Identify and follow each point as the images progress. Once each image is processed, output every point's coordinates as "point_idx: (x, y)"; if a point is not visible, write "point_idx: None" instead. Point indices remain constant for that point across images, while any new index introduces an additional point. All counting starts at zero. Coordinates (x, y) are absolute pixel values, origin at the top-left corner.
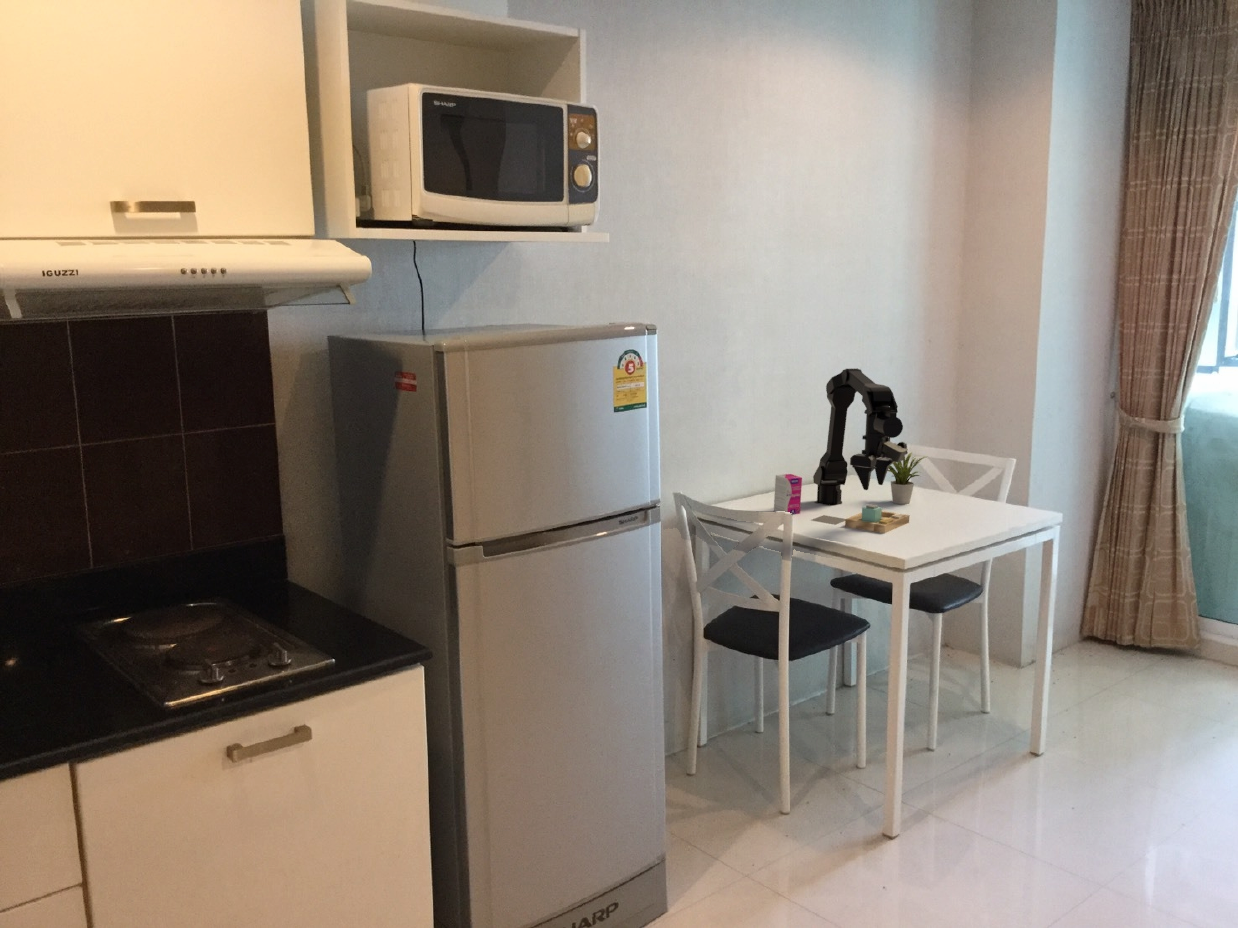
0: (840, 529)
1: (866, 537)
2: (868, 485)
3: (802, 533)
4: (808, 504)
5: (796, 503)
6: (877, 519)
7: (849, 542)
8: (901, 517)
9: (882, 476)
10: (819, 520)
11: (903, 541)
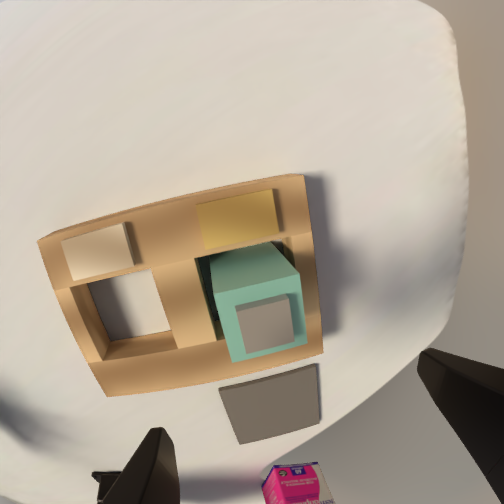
0: (342, 325)
1: (373, 197)
2: (452, 360)
3: (434, 338)
4: None
5: (293, 487)
6: (253, 261)
7: (445, 198)
8: (100, 228)
9: (156, 489)
10: (305, 414)
11: (318, 66)
